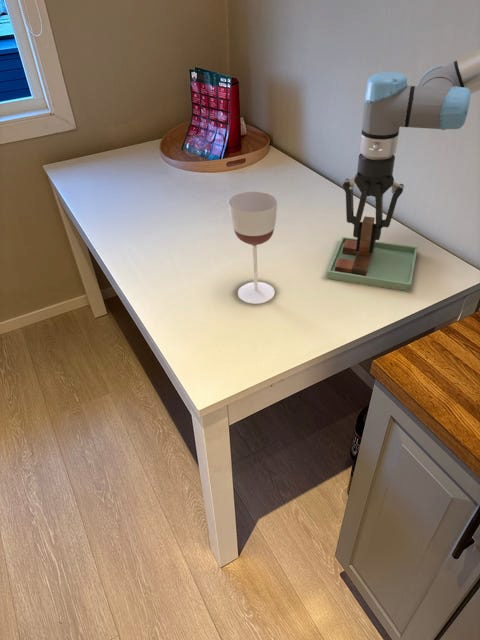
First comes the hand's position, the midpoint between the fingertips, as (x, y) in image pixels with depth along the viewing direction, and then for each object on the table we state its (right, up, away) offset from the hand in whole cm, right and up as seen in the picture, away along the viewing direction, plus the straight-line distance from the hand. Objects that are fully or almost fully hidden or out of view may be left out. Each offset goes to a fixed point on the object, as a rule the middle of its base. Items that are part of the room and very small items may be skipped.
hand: (364, 249), depth 118 cm
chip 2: (-5, -5, 0) cm, 7 cm away
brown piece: (0, -3, +2) cm, 4 cm away
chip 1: (-2, +1, +7) cm, 7 cm away
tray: (+3, -4, +2) cm, 5 cm away
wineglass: (-27, -11, -4) cm, 29 cm away
